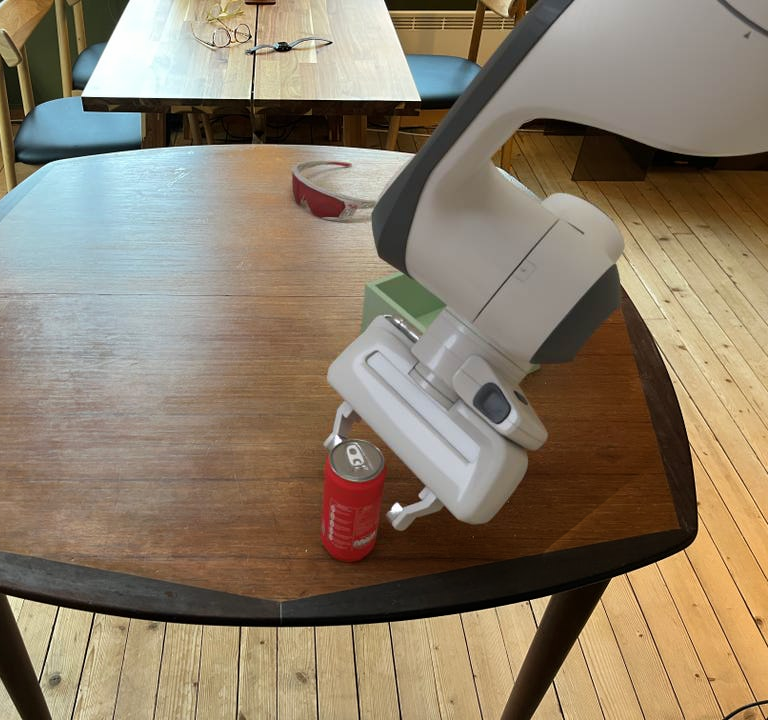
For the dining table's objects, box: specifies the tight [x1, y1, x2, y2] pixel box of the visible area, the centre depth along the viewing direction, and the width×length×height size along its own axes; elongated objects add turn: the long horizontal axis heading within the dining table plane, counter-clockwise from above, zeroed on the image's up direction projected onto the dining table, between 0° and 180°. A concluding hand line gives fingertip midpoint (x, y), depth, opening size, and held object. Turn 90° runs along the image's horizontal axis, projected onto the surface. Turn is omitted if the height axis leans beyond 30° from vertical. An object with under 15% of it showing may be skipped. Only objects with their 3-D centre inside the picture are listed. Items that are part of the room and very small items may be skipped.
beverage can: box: [320, 438, 387, 563], centre depth 66 cm, size 5×5×12 cm
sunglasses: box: [291, 160, 377, 221], centre depth 119 cm, size 17×17×5 cm
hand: (360, 486), depth 65 cm, fingers open, 8 cm apart
